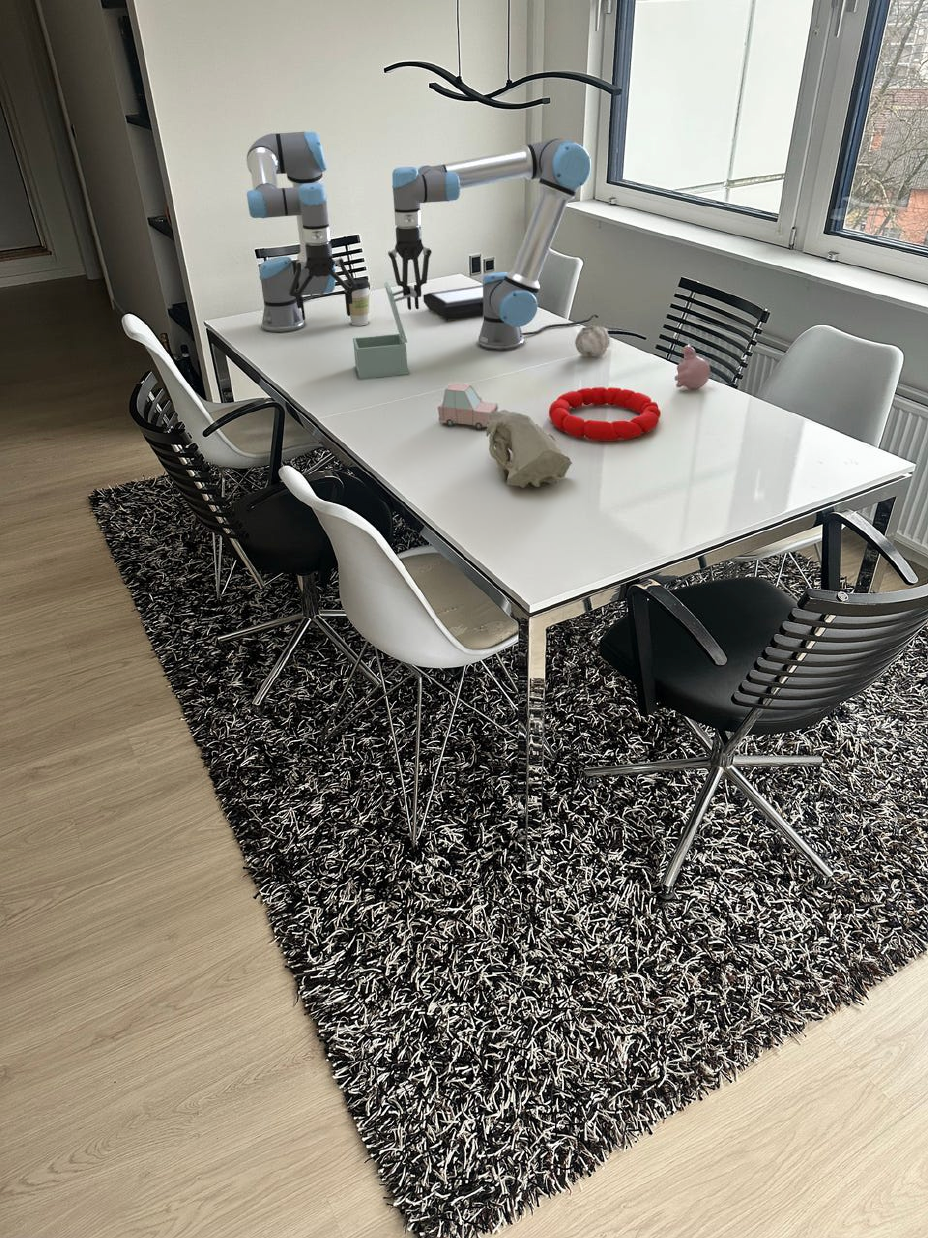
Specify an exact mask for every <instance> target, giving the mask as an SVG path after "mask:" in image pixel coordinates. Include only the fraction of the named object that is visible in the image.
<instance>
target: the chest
mask: <svg viewBox="0 0 928 1238" xmlns="http://www.w3.org/2000/svg"><path fill="white" fill-rule="evenodd" d="M352 345H353V352H354V354H353V355H354V363H355V364H354V365H355V369H356V372H357V375H358V379H359V380H364V379H374V378H384V377H386V378H387V377H395V376H396V377H397V376H404V375H409V372H408V371H409V370H408V369H409V368H408V356H407V355H408V354H407V344H406V343H404V342H403V340H402V338H401V336H400V334H399V333H393V334H382V335H371V336H360V337H353V338H352Z"/></svg>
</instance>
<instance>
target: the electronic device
mask: <svg viewBox="0 0 928 1238" xmlns="http://www.w3.org/2000/svg"><path fill="white" fill-rule="evenodd" d="M422 297H423V304H425V306H426V307H427V309H428V310H429V311H430V312H432V313H434V314H435V315H436V316H439V317H440V318H441V319H444V320H445V321H447V322H448V321H455V320H461V319H466V318H475V317H480V316H483V286H482V284H481V285H476V286H469V287H462V288H455V289H448V290H441V291H440V290H439V291H435V292H428V293H425V294H422Z"/></svg>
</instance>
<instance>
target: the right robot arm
mask: <svg viewBox="0 0 928 1238" xmlns="http://www.w3.org/2000/svg"><path fill="white" fill-rule="evenodd" d="M591 170H592V161H591V158H590V155H589V153H588V151H587V150H586V149H585V147H583V146H582V145H581V144H579V143H577V142H574V141H570V140H566V139H563V138H554V137H553V138H549V139H545V140H542V141H538V142H537V141H536V142H533V143H529V144H523V146H522V147H521V148H520V149H518V150H512V151H506V152H501V153H496V154H491V155H485V156H480V157H474V158H470V159H469V158H468V159H464V160H459V161H454V162H448V163H443V164H437V165H432V166H431V165H422V166H420V167H418V168H417V167H414V166H400V167H396V168H394V169H393V170H392V184H391V185H392V195H393V209H394V211H393V212H394V225H395V226H396V228H395V239H396V241H395V242H396V243H395V245H394V249H392V250H389V251H388V252H387V255H388V256H389V258H390V260H391V265H392V268H393V273H394V278H395V283H396V285H397V286H398V287H402V290H403V293H402V296H405V295H409V294H410V287H409V286H410V285H408V280H409V279H408V278H409V277H408V274H409V273H408V271H409V269H408V268H409V267H408V266H409V261H412V264H413V272H414V279H415V280H414V281H415V284H413V289H414V290H415V292H416V293H417V296H416V297H414V308H415V309H416V310H419V309H420V305H419V298H421V297H422V286H423V285H426V284H427V282H428V274H429V263H430V257H431V256H432V253H433V252H432V249H431V248H429V247H426V246H425V245H424V244H423V240H422V239H423V238H422V227H421V226H420V225H421V224H422V220H421V204H426V203H440V202H441V203H444V202H447V203H449V202H452V201H453V202H454V201H457V200H459V199H460V195H461V190H462V189H467V188H473V187H479V186H485V185H489V184H493V183H499V182H506V181H510V180H511V181H512V180H516V179H521V178H525V179H526V180H528V181H530V180H534V179H539V181H538V186H539V188H540V193H539V195H538V199H537V201H536V203H535V207H534V209H533V212H532V215H531V218H530V221H529V224H528V225H527V229H526V232H525V234H524V237H523V239H522V243H521V245H520V248H519V251H518V254H517V256H516V258H515V262H514V264H513V267H512V270H511V271H500V272H499V271H498V272H490V273H487V274H485V275H484V276H483V278H482V284H481V285H482V286H483V315H482V317H483V318H482V319H483V321H482V325H481V328H480V332H479V336H478V341H477V342H478V346H479V347H481V348H482V349H486V350H490V351H509V350H515V349H518V348H520V347H522V346H523V345H524V336H530V335H536V334H539V333H541V332H543V331H544V330H546V329H549V328H558V327H570V326H574V325H580V324H585V323H587V322H590V321H591V320H592V319H593V318H595V319H598V318H599V315H598V314H597V313H593V314H592V315H590V316H589V318H587V319H586V318H585V319H583V320H578V321H573V322H567V323H555V324H548V325H545V326H542V327H541V328H540V329H537V330H535V331H527V332H526V331H525V332H523V331H522V329H521V327H524V326H526V325H528V324H529V323H530V322H532V321H533V320H534V318H535V316H536V314H537V312H538V300H537V297H538V294H539V292H540V289H541V287H540V284H539V277H540V275H541V272H542V270H543V268H544V265H545V262H546V260H547V257H548V255H549V252H550V250H551V246H552V244H553V241H554V239H555V235H556V233H557V231H558V228H559V225H560V223H561V220H562V217H563V215H564V212H565V209H566V207H567V204H568V202H570V201H572V200H573V199H575V197H576V195H577V192H578V189H579V188H580V187H582V186H583V185H585V184H586V182H587V181H588V179H589V177H590V175H591ZM397 254H398V255H399V256H400V258H401V259H402V270H401V271H402V273H401V274H402V279H401V275H400V271H399V266H398V262H397V257H398V255H397ZM421 254H423V262H422V272H421V274H420V266H419V257H420V255H421ZM411 298H412V297H409V298H406V304H407V305H406V306H407V309H408V310H409V311H410V310H412V300H411Z"/></svg>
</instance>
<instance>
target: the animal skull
mask: <svg viewBox="0 0 928 1238" xmlns="http://www.w3.org/2000/svg"><path fill="white" fill-rule="evenodd" d="M485 436H486V438H487V437H489V438H488V440H489V444H488V445H489V446H488V450H489V454H490V456H491V457H492V458H493V459H494V460H495V462H496V464H497V466H499V468H500V470H501V471H502V472H501V478H502V479H507V480H506V484H507V486H517V487H518V486H519V488H523V489H524V488H526V486H527V485H529V483H531V485H533V486H534V487H536V488H540V485H541V484H542V482H544V483H549V484H550V485H553V484H555V483H556V482H557V480H561V479H563V478H565V476H566V474H567V472H568V471H569V469H570V467H571V466H572V464H573V462H572V461H571V458H570V457H568V456H567V455H565V453H564V451H562V449H561V448H560V446H559V444H557V443H556V439H555V438H554V436H553V435H551V434H550V433H548V432H547V431H546V430H545V429H544V428H542V427H541V426H539V425H538V424H537V423H536V424H535V422H534V421H533V419H532V418H531V417H530V416H529V415H527V414H524V413H519V412H515V411H509V410H507V409H502V410H500V411H499V410H497V411H496V412H492V413H491V414H490V422H488V423H487V427H486V435H485ZM511 453H512V454H511ZM511 455H512V457H513V458H512V460H511ZM507 474H508V475H507Z"/></svg>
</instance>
